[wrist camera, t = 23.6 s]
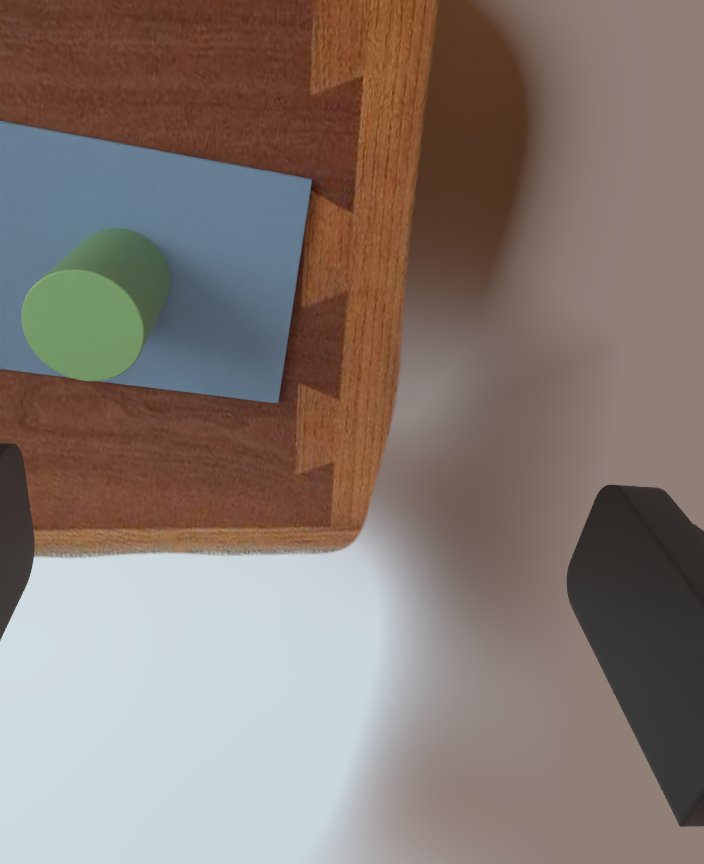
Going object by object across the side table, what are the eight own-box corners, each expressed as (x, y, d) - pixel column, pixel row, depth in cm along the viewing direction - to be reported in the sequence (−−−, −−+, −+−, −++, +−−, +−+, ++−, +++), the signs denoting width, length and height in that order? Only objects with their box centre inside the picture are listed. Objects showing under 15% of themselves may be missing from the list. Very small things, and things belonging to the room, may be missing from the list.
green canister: (173, 236, 37) (146, 279, 29) (168, 326, 40) (141, 388, 32) (73, 220, 36) (17, 260, 28) (73, 313, 39) (23, 374, 31)
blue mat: (311, 178, 37) (312, 179, 36) (278, 400, 43) (278, 403, 43) (-77, 106, 33) (-82, 106, 33) (-51, 359, 40) (-55, 362, 39)
